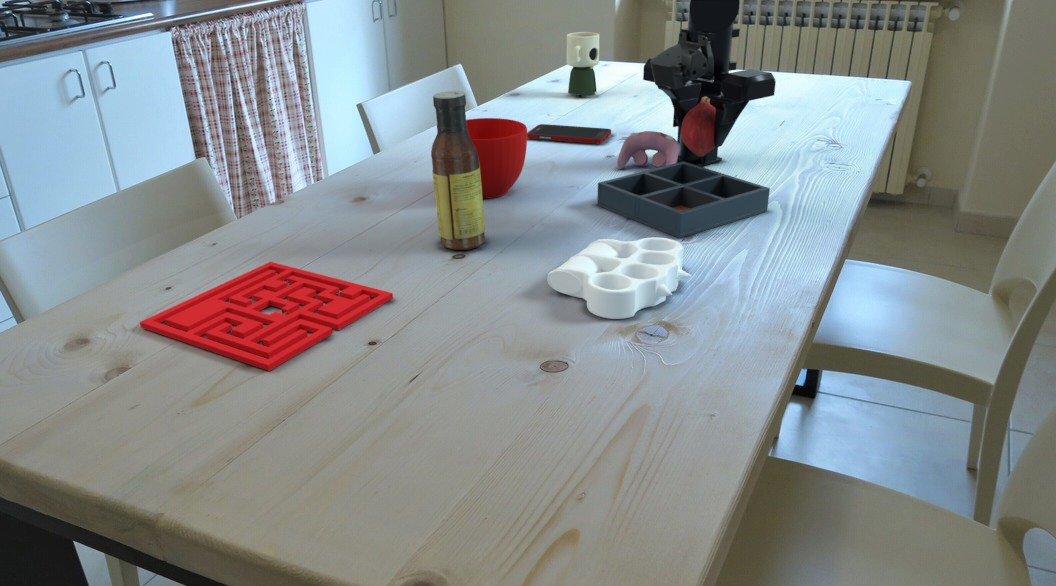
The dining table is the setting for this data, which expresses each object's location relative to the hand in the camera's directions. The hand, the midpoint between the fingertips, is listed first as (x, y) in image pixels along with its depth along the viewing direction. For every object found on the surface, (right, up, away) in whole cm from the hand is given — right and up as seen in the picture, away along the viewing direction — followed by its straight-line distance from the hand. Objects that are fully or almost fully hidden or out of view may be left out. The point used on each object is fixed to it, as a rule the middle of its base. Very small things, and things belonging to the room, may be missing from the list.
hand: (701, 141), depth 121 cm
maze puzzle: (-54, -24, -19) cm, 62 cm away
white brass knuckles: (-12, -21, -14) cm, 28 cm away
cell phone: (-15, +12, +46) cm, 50 cm away
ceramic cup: (-31, -4, +17) cm, 36 cm away
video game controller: (-3, +2, +27) cm, 28 cm away
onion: (0, -2, +1) cm, 2 cm away
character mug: (-10, +29, +76) cm, 82 cm away
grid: (-1, -7, +9) cm, 12 cm away
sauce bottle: (-33, -14, -1) cm, 36 cm away
